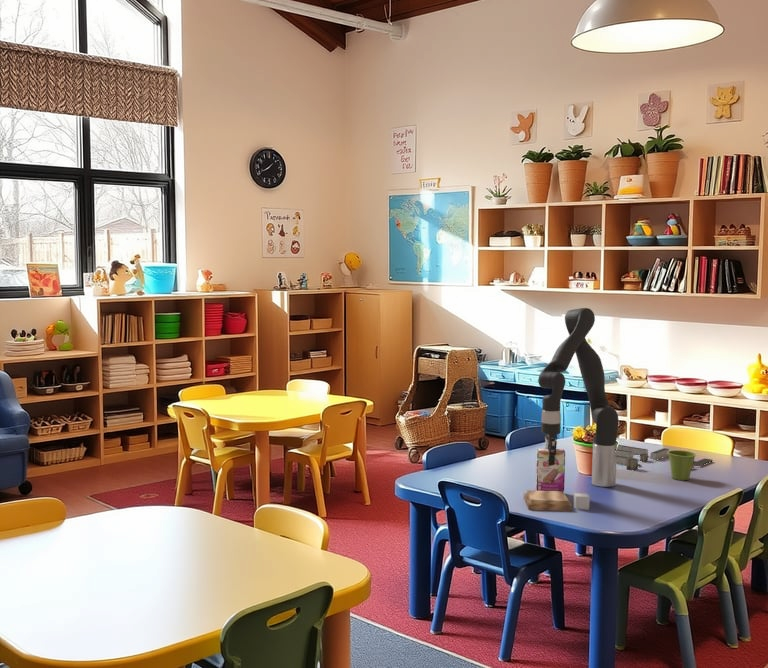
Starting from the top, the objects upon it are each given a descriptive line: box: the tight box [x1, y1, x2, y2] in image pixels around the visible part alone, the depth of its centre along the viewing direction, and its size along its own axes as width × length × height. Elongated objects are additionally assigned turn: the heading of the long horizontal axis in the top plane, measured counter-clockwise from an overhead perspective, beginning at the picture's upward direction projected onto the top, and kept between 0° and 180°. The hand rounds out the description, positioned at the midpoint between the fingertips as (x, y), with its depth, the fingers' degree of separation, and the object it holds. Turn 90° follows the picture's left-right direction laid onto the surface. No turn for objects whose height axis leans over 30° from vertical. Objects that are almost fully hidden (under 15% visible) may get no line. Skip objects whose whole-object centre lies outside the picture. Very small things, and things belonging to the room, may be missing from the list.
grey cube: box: [573, 492, 591, 510], centre depth 336 cm, size 5×5×5 cm
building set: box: [615, 444, 714, 471], centre depth 414 cm, size 45×43×5 cm
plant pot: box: [667, 449, 697, 481], centre depth 382 cm, size 12×12×11 cm
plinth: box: [523, 489, 573, 512], centre depth 339 cm, size 16×16×4 cm
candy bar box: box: [535, 448, 566, 492], centre depth 354 cm, size 11×5×16 cm, turn 85°
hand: (550, 463), depth 354 cm, fingers closed on candy bar box, 5 cm apart
